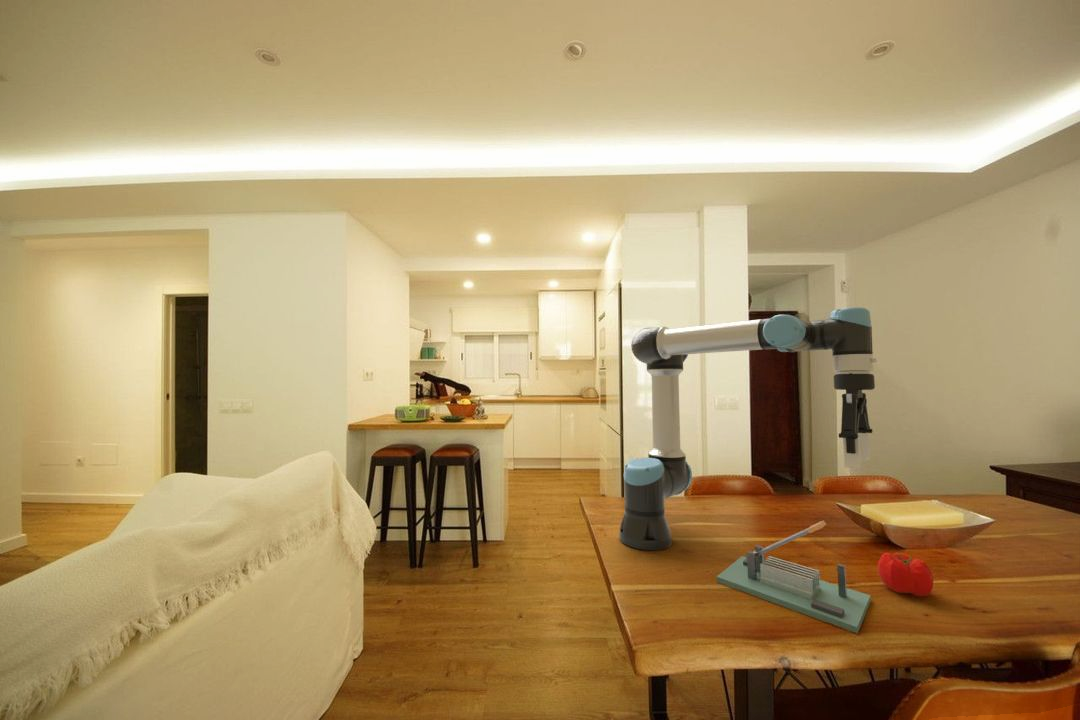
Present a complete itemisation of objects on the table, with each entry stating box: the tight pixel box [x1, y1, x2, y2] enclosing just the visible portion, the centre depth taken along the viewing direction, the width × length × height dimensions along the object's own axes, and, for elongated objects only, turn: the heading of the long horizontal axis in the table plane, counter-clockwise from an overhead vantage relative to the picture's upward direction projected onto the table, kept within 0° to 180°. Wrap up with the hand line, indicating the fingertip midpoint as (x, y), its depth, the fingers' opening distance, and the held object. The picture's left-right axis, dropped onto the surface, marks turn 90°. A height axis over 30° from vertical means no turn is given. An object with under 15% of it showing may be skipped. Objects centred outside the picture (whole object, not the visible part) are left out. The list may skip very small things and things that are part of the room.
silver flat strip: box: [753, 520, 827, 559], centre depth 88 cm, size 18×3×1 cm
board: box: [716, 555, 872, 634], centre depth 87 cm, size 26×16×2 cm, turn 43°
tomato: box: [877, 552, 934, 597], centre depth 87 cm, size 9×9×8 cm
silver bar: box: [746, 544, 848, 600], centre depth 87 cm, size 17×8×6 cm, turn 43°
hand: (857, 463), depth 90 cm, fingers open, 13 cm apart
